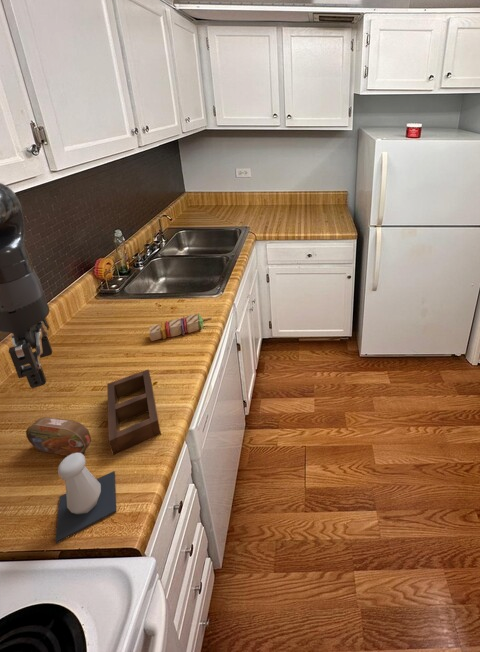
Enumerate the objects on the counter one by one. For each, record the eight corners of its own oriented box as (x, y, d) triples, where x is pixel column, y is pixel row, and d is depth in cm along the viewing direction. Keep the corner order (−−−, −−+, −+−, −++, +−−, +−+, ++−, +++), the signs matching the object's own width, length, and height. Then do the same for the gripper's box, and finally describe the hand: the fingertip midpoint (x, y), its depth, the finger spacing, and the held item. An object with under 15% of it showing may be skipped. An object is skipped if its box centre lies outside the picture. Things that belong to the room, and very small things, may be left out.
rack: (113, 455, 78) (108, 441, 76) (111, 397, 93) (107, 383, 91) (160, 434, 83) (157, 420, 81) (151, 382, 98) (148, 369, 96)
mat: (55, 543, 63) (55, 542, 62) (60, 498, 70) (59, 496, 70) (116, 512, 67) (115, 510, 67) (114, 472, 75) (114, 470, 74)
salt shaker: (89, 483, 72) (73, 442, 67) (110, 492, 70) (95, 451, 65) (63, 513, 67) (43, 471, 62) (84, 524, 65) (66, 481, 60)
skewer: (151, 345, 113) (148, 333, 111) (151, 334, 118) (148, 322, 116) (213, 329, 121) (212, 317, 119) (210, 319, 126) (209, 308, 125)
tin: (30, 450, 79) (19, 425, 76) (42, 437, 82) (32, 413, 79) (87, 459, 77) (78, 434, 74) (97, 446, 80) (88, 421, 77)
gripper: (-3, 284, 61) (25, 353, 67) (-27, 327, 50) (8, 405, 56) (48, 274, 65) (69, 341, 71) (36, 312, 53) (62, 387, 59)
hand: (42, 369), depth 63 cm, fingers open, 8 cm apart
